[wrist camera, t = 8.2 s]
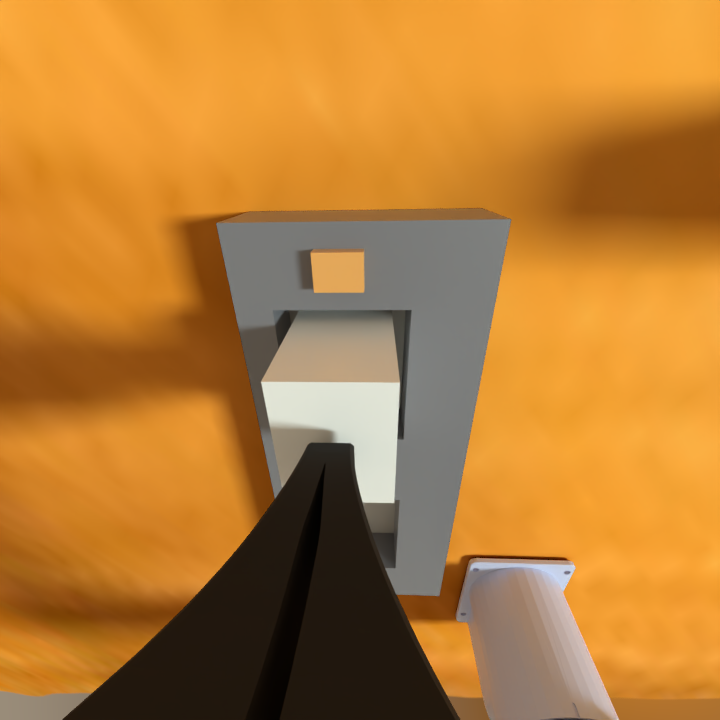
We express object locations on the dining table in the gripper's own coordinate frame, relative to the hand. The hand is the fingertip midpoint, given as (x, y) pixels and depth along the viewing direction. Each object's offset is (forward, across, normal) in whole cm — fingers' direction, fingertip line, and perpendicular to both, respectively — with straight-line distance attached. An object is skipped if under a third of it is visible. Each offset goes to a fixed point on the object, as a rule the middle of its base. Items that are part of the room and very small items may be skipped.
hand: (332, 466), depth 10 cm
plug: (+7, 0, 0) cm, 7 cm away
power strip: (+8, -1, +6) cm, 10 cm away
